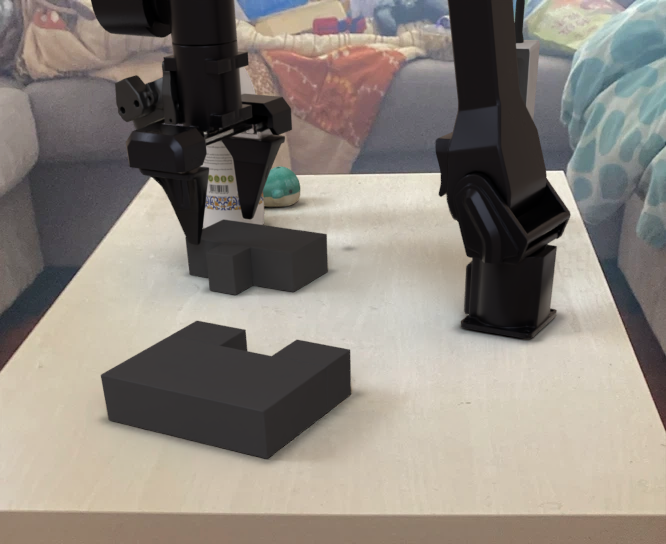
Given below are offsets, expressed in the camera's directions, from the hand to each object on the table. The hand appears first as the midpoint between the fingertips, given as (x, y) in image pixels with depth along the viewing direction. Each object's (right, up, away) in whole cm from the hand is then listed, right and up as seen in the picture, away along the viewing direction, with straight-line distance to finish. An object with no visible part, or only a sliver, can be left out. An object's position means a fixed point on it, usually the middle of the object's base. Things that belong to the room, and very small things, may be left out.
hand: (222, 231), depth 101 cm
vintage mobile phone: (+29, +4, +9) cm, 31 cm away
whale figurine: (+4, +12, +19) cm, 23 cm away
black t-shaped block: (+3, -5, 0) cm, 5 cm away
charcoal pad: (+3, -24, -23) cm, 33 cm away
